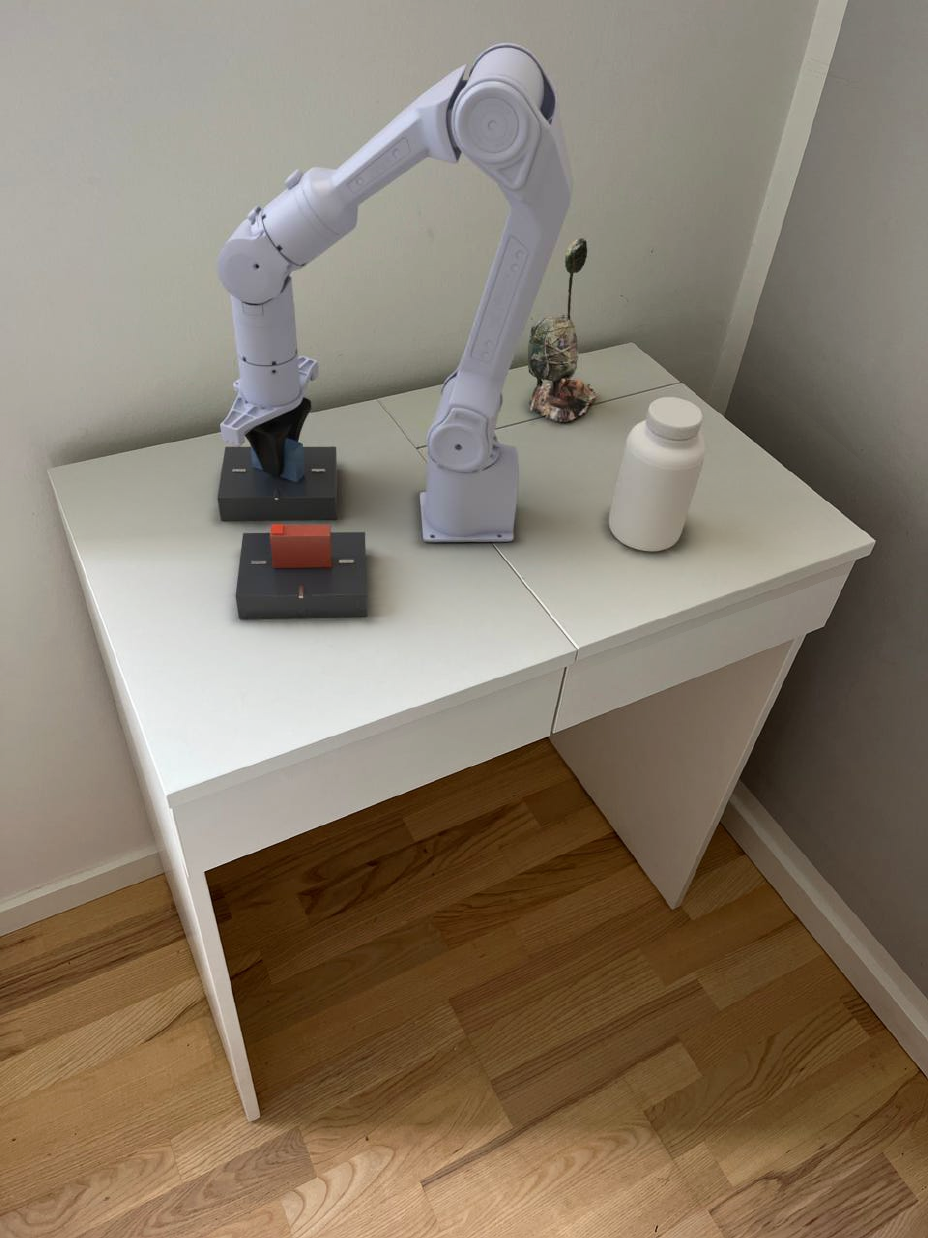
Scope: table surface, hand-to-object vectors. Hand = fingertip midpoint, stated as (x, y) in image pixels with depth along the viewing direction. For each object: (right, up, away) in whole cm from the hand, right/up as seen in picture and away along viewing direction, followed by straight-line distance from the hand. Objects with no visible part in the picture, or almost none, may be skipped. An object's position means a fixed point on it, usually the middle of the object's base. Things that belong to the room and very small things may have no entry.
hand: (278, 466), depth 100 cm
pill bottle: (+39, -7, +2) cm, 40 cm away
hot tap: (+4, -11, -9) cm, 15 cm away
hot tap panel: (+4, -13, -7) cm, 15 cm away
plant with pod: (+31, +10, +18) cm, 38 cm away
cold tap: (0, 0, 0) cm, 1 cm away
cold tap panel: (0, -3, +3) cm, 4 cm away
